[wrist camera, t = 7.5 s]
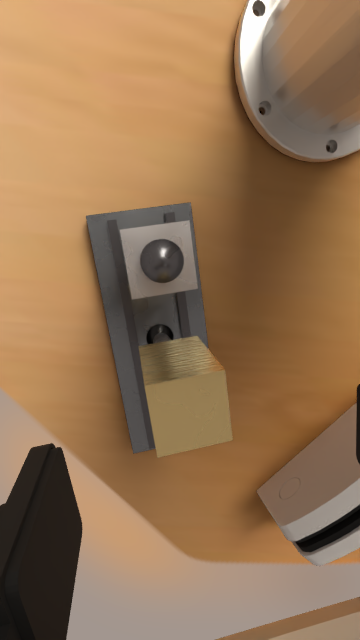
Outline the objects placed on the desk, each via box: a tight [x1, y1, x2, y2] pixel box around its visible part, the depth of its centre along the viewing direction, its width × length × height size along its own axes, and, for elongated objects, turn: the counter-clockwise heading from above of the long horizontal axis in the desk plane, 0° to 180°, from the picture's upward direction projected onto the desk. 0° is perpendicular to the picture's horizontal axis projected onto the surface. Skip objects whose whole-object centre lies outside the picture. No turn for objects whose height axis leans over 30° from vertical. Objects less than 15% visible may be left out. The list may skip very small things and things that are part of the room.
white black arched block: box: [256, 402, 360, 566], centre depth 26 cm, size 17×5×10 cm, turn 131°
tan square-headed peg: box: [138, 333, 233, 458], centre depth 18 cm, size 3×3×11 cm
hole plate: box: [86, 202, 209, 454], centre depth 20 cm, size 18×7×10 cm, turn 8°
